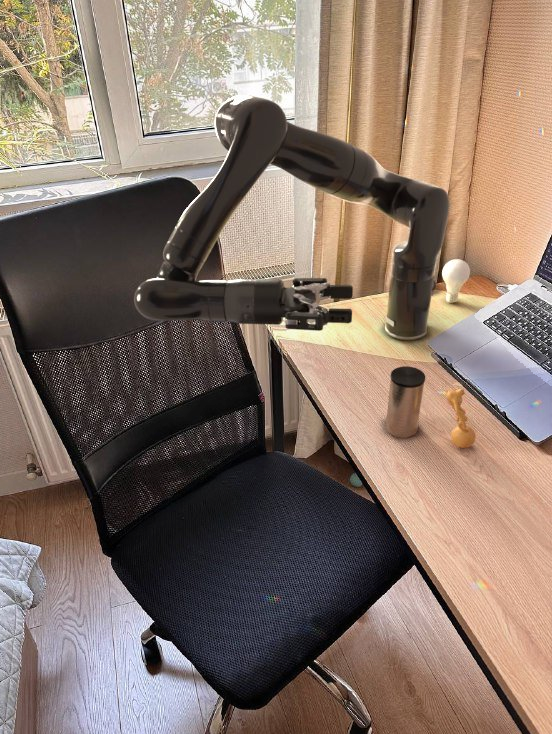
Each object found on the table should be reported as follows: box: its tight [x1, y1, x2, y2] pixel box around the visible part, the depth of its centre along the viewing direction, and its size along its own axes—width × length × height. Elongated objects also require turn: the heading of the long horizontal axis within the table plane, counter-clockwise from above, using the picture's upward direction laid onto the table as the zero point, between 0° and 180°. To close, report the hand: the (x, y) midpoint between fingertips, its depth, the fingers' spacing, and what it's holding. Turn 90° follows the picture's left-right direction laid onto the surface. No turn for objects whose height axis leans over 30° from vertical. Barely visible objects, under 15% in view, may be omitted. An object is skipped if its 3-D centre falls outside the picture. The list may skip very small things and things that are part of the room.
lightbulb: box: [441, 258, 471, 304], centre depth 142 cm, size 6×6×11 cm
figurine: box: [445, 388, 477, 449], centre depth 99 cm, size 8×6×12 cm
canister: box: [385, 365, 426, 439], centre depth 103 cm, size 6×6×12 cm
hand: (352, 303), depth 96 cm, fingers open, 8 cm apart
